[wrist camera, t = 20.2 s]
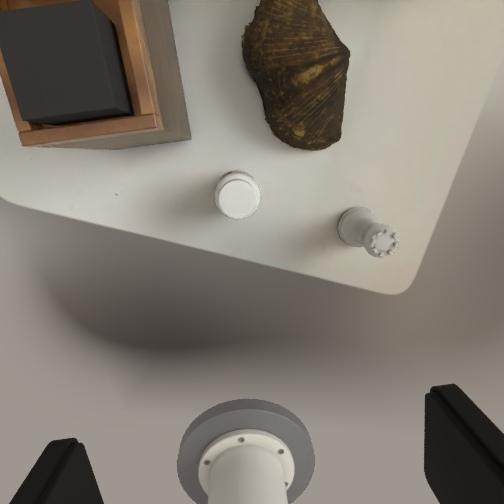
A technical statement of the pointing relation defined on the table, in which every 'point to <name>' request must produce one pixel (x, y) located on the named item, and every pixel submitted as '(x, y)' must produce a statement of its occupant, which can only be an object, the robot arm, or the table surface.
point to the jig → (138, 78)
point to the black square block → (64, 63)
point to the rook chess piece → (367, 232)
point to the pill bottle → (237, 195)
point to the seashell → (298, 71)
